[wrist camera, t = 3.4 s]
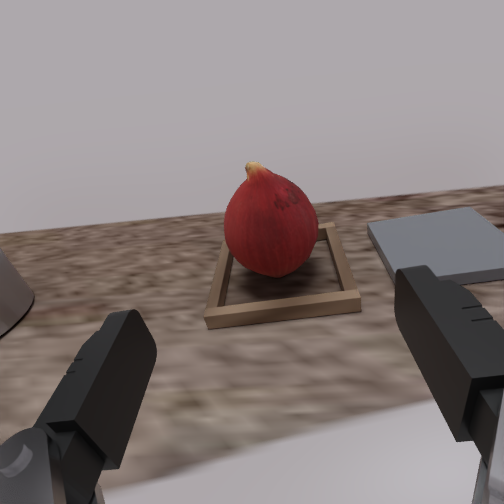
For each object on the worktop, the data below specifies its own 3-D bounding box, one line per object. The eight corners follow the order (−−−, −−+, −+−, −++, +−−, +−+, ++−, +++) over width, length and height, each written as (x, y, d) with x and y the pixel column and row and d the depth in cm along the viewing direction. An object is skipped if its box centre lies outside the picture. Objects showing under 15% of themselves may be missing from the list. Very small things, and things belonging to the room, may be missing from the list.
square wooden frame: (208, 329, 19) (203, 316, 18) (226, 250, 26) (223, 239, 26) (361, 311, 17) (360, 297, 17) (334, 233, 25) (333, 221, 24)
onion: (311, 244, 24) (296, 138, 20) (334, 290, 19) (322, 162, 15) (237, 261, 24) (207, 160, 20) (241, 312, 19) (203, 191, 15)
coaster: (398, 292, 18) (399, 281, 17) (367, 232, 24) (367, 223, 23) (537, 275, 17) (541, 262, 16) (468, 216, 23) (469, 206, 22)
